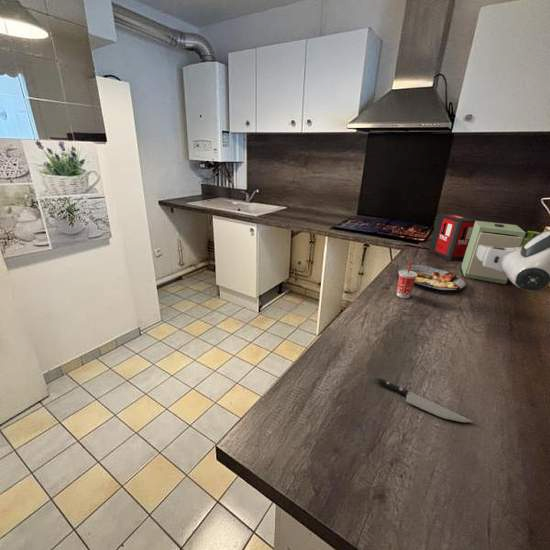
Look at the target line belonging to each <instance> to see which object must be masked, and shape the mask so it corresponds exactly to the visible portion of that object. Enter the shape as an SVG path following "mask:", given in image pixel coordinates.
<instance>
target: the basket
mask: <svg viewBox="0 0 550 550" xmlns="http://www.w3.org/2000/svg"><path fill="white" fill-rule="evenodd" d="M522 239H523V238H522V237H514V236H506V235H498V234H490V233H482V232H480V235H479V238H478V241H477V244H476V247H475V250H474V253H473V257H472V260H471V263H470V266H469V269H468V272H467V274H471V275H477V276H482V277H488V278H494V279H499V280H505V281H507V282H508V280H507V278H508V277H507V275H506V274H505V273H503V272H500V271H498V270H495V269H492V268H488V267H485V266H483V262H482V261H480V260H479V259H478V258H477V256H476V251H477V248H478V246H479V245H487V246H496V247H501V248H515V247H520V244H521V242H522V243H523V241H522ZM523 240H524V239H523ZM521 245H522V244H521ZM508 279H509V278H508Z"/></svg>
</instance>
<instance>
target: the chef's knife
mask: <svg viewBox="0 0 550 550" xmlns="http://www.w3.org/2000/svg"><path fill="white" fill-rule="evenodd" d="M376 381H377V383H378V384H380V385H384V386H386V387H389V388H391V389H393V390H395V391H397V392H398V393H401V394H403V396H404V395H405V397H406V403H407V404H411V405H412V406H415V407H417V408H419V409H421V410H424V411H426V412H428V413H430V414H432V415H435V416H436V417H440V418H442V419H445V420H450V421H456V422H461V423H474V421H473V420H472V419H469V418H467V417H465V416H463V415H461V414H459V413H457V412H455V411H452V410H451V409H449V408H446V407H444V406H441V405H439V404H437V403H436V402H433V401H431V400H429V399H427V398H424V397H422V396H420V395H418V394H415V393H414V392H411V391H409V390H407V389H405V388H403V387H401V386H398V385H396V384H393V383H391V382H390V381H388V380H385V379H383V378H380V377H376Z"/></svg>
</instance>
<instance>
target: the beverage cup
mask: <svg viewBox="0 0 550 550" xmlns="http://www.w3.org/2000/svg"><path fill="white" fill-rule="evenodd" d="M412 262H413V260H412V259H410V261H409V269H408V270H400V271H399V273H398V281H397V289H396V296H397V297H399V298H401V299H409V298H411V294H412V291H413V288H414V285H415V283H414V282H415V279H416V278H417V273H415V272H413V271H410V267H411V266H412Z"/></svg>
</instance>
